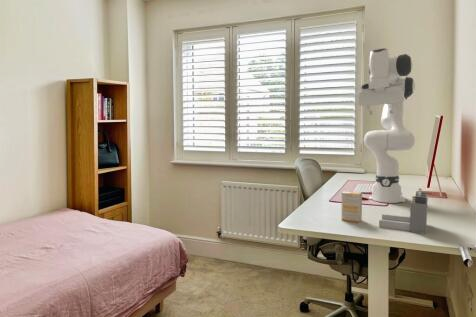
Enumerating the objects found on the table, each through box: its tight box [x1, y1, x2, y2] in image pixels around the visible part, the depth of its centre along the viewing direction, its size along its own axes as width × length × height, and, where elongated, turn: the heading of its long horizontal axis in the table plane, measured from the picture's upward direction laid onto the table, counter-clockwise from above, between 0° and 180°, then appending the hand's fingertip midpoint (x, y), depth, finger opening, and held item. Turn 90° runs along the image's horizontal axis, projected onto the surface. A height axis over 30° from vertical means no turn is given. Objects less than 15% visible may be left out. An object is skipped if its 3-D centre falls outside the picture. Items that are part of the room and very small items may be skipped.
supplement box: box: [341, 190, 363, 223], centre depth 170 cm, size 8×5×13 cm, turn 59°
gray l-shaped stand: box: [378, 187, 429, 234], centre depth 160 cm, size 14×18×16 cm
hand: (381, 114), depth 174 cm, fingers open, 8 cm apart
